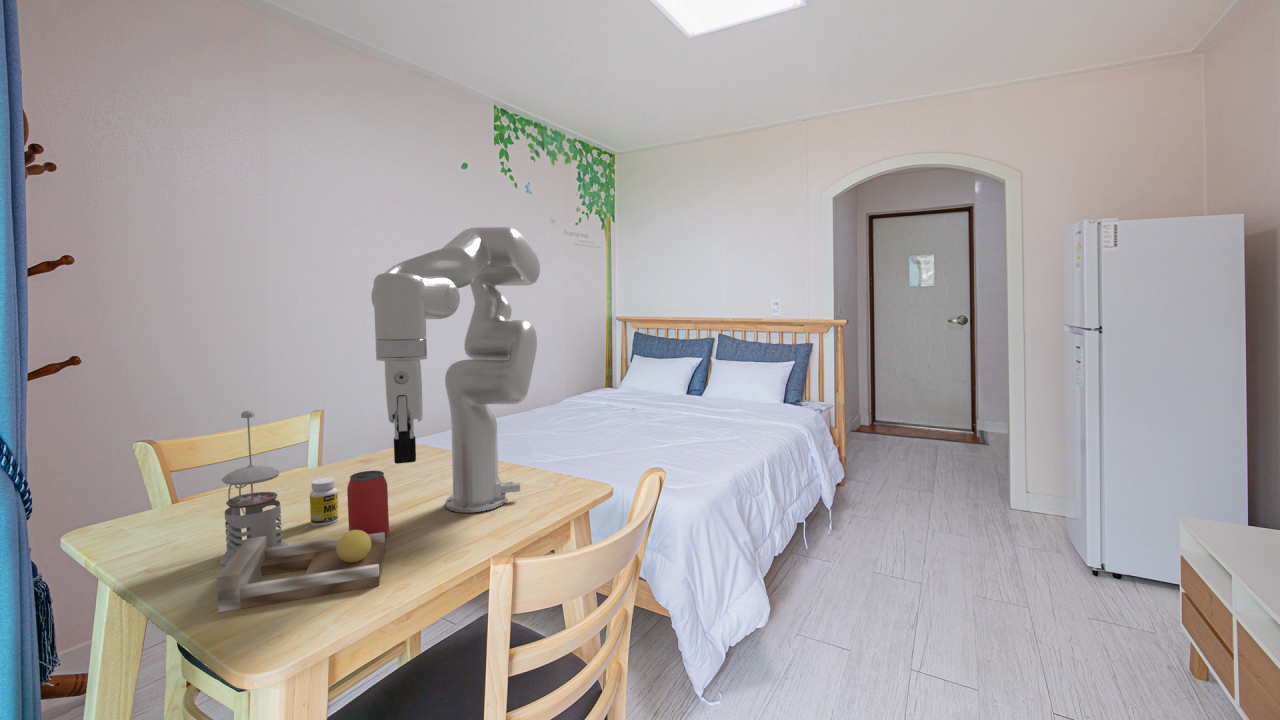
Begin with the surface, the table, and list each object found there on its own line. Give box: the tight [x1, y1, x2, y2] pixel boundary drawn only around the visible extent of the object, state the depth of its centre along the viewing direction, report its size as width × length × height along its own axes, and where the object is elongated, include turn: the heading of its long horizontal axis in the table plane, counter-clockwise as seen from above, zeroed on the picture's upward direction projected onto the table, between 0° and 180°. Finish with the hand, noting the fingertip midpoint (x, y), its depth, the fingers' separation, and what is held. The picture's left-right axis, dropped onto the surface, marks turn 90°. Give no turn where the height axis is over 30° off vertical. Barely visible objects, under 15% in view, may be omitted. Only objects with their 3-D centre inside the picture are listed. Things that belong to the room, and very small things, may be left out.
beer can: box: [346, 470, 390, 538], centre depth 98 cm, size 7×7×12 cm
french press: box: [219, 409, 289, 566], centre depth 92 cm, size 10×12×25 cm
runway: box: [216, 532, 386, 613], centre depth 84 cm, size 20×14×5 cm
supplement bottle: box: [309, 477, 339, 527], centre depth 106 cm, size 5×5×8 cm
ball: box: [336, 530, 371, 563], centre depth 86 cm, size 5×5×5 cm
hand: (405, 461), depth 88 cm, fingers closed
